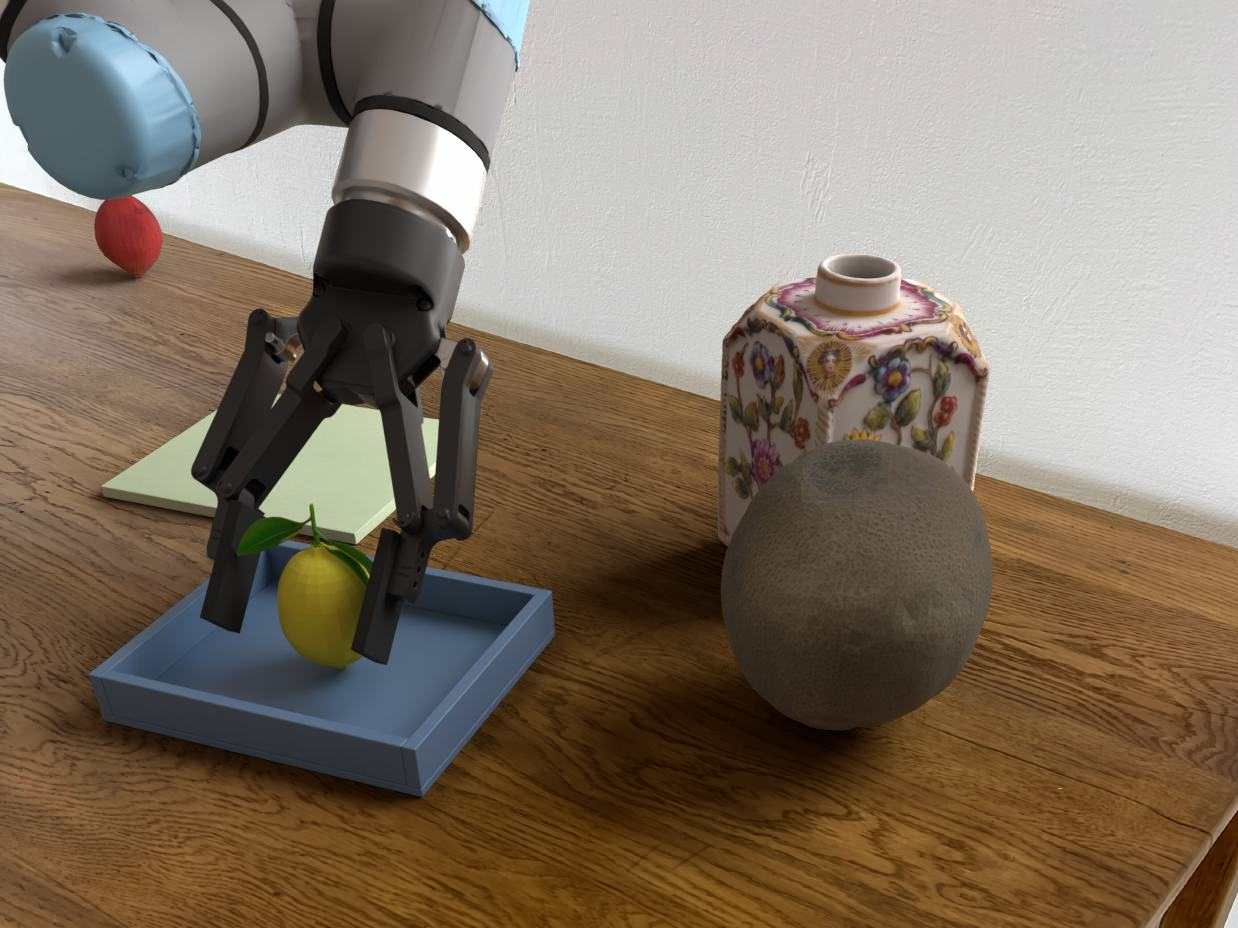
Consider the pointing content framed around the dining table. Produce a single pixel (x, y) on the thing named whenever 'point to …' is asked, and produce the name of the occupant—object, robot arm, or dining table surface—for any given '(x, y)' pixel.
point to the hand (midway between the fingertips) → (293, 641)
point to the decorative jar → (845, 375)
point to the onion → (128, 234)
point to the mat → (289, 476)
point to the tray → (332, 679)
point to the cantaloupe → (857, 583)
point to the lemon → (315, 590)
